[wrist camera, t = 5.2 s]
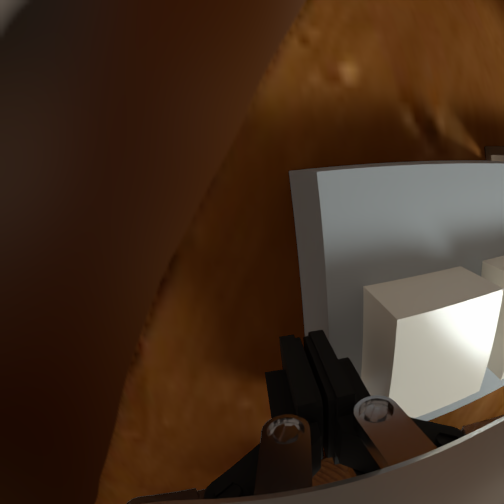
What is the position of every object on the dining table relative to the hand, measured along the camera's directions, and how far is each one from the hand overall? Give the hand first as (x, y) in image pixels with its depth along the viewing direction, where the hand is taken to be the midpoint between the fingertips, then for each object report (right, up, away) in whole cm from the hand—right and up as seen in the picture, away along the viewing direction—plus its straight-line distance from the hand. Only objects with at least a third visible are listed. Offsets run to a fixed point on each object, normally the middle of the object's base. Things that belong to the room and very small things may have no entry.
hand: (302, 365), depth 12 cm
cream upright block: (+5, +1, +1) cm, 5 cm away
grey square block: (+8, +3, +7) cm, 11 cm away
